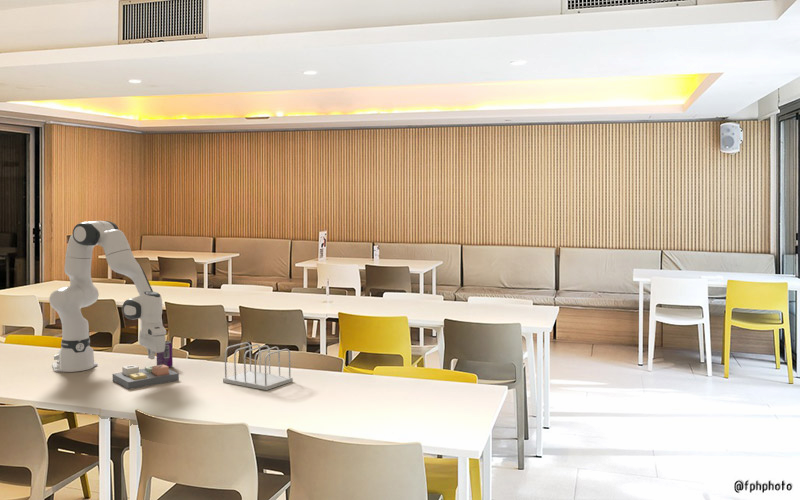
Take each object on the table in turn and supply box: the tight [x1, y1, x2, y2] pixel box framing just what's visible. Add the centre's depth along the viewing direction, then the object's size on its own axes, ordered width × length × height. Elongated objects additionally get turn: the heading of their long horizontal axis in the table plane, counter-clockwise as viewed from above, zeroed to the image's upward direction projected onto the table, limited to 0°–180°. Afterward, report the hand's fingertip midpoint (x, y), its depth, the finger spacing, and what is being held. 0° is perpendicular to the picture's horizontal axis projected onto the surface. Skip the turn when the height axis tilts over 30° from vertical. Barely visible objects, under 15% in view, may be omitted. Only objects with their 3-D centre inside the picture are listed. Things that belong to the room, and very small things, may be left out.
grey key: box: [121, 364, 140, 376], centre depth 296 cm, size 5×5×3 cm
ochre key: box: [130, 373, 146, 380], centre depth 291 cm, size 5×5×3 cm
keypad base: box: [112, 368, 180, 390], centre depth 297 cm, size 18×22×3 cm
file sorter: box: [222, 341, 294, 391], centre depth 296 cm, size 25×17×16 cm
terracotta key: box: [151, 365, 170, 376], centre depth 297 cm, size 5×5×3 cm
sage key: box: [144, 365, 152, 372], centre depth 303 cm, size 5×5×3 cm
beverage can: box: [156, 340, 174, 369], centre depth 320 cm, size 7×7×12 cm
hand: (151, 358), depth 303 cm, fingers closed
